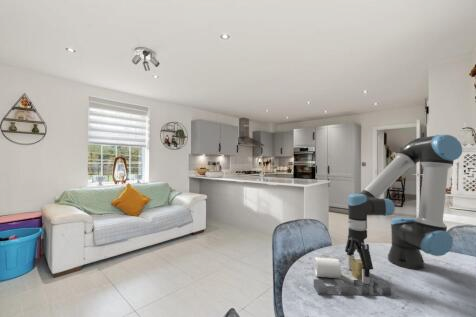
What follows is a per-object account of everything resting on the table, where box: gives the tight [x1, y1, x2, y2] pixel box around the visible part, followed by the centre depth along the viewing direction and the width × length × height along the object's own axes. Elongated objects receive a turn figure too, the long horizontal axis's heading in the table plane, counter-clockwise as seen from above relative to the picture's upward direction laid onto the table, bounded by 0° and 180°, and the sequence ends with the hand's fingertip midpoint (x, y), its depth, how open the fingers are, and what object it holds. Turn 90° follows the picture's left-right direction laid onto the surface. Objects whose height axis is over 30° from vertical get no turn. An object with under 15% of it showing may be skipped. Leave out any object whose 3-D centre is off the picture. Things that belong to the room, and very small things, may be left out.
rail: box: [313, 278, 392, 297], centre depth 91 cm, size 28×6×3 cm, turn 89°
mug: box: [314, 256, 342, 280], centre depth 105 cm, size 12×10×8 cm
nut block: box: [351, 258, 363, 280], centre depth 103 cm, size 4×4×7 cm
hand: (357, 276), depth 103 cm, fingers open, 12 cm apart
